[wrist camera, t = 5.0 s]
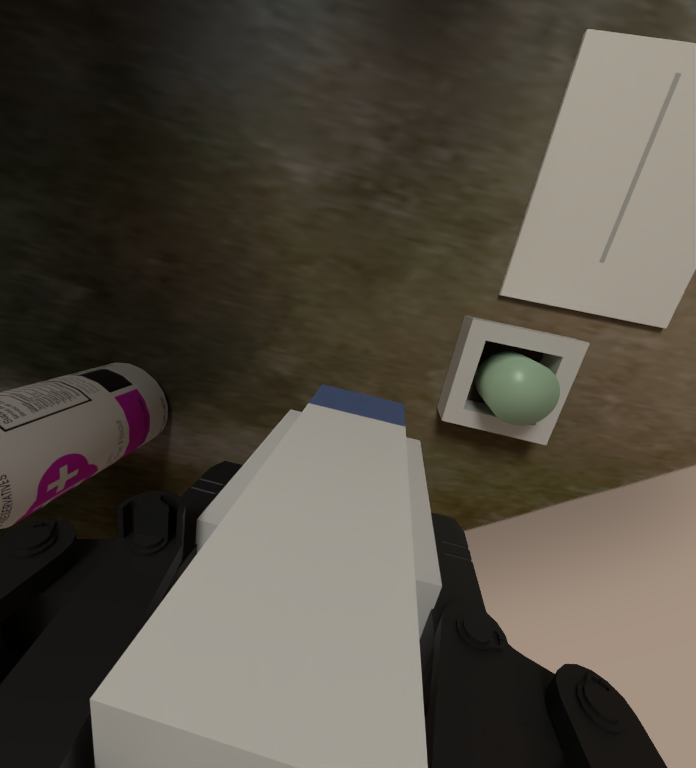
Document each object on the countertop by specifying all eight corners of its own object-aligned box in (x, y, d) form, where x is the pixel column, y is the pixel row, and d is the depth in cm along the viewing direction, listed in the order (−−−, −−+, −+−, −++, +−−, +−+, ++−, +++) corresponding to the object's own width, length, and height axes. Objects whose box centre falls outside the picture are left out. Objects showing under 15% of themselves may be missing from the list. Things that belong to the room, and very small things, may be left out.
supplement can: (188, 409, 32) (21, 506, 18) (138, 452, 34) (-46, 568, 20) (130, 344, 31) (-99, 390, 17) (83, 392, 33) (-153, 470, 19)
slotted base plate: (583, 33, 20) (587, 28, 20) (792, 61, 19) (800, 56, 19) (498, 294, 25) (500, 294, 25) (661, 327, 24) (666, 328, 24)
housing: (464, 315, 26) (473, 318, 23) (568, 336, 25) (589, 343, 22) (437, 407, 28) (441, 420, 25) (530, 429, 28) (546, 445, 25)
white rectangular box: (322, 384, 15) (89, 698, 4) (403, 403, 15) (430, 812, 3) (309, 455, 16) (102, 861, 5) (384, 474, 16) (355, 954, 4)
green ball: (485, 345, 25) (500, 355, 21) (545, 358, 24) (570, 370, 21) (468, 399, 26) (479, 416, 22) (524, 412, 26) (544, 432, 22)
